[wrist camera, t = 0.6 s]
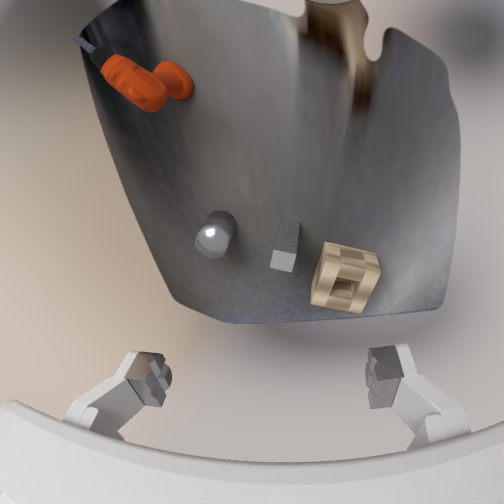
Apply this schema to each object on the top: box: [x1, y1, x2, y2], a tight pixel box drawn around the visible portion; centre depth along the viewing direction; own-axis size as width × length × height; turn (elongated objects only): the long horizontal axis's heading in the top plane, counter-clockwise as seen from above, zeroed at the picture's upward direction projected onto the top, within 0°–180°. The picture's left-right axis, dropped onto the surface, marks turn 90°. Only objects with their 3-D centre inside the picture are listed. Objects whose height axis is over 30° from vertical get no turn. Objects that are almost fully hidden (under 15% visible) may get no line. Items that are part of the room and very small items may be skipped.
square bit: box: [270, 218, 300, 272], centre depth 49 cm, size 3×3×10 cm
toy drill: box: [72, 34, 194, 112], centre depth 33 cm, size 5×19×15 cm, turn 44°
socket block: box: [311, 242, 381, 314], centre depth 53 cm, size 10×10×6 cm
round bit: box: [195, 211, 236, 258], centre depth 52 cm, size 6×6×7 cm
